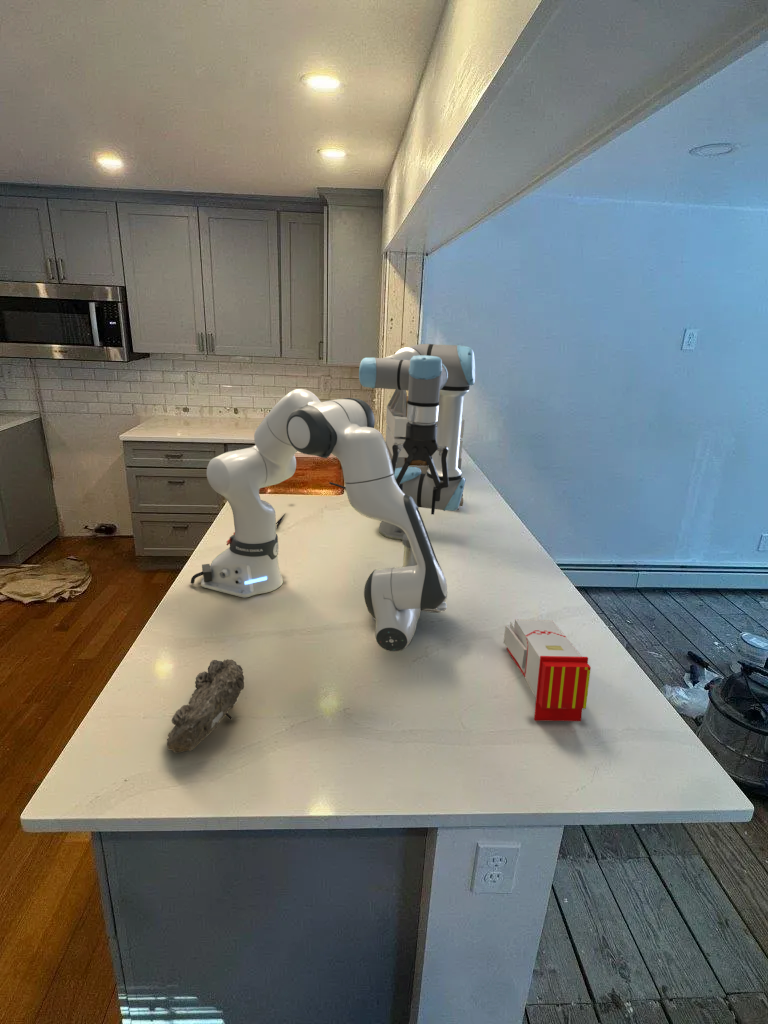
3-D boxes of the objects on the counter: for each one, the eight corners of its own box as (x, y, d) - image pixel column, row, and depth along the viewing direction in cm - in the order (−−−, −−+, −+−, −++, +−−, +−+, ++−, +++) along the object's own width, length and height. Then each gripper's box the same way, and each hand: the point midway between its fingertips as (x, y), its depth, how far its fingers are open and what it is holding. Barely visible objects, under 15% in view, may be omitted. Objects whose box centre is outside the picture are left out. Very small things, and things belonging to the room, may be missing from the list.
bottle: (398, 605, 152) (401, 539, 145) (404, 597, 156) (408, 533, 150) (415, 609, 150) (420, 543, 144) (421, 601, 154) (426, 536, 148)
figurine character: (463, 515, 225) (458, 499, 238) (465, 497, 221) (460, 482, 235) (446, 514, 224) (442, 498, 238) (448, 497, 221) (444, 482, 235)
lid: (399, 546, 146) (399, 538, 145) (406, 538, 151) (407, 530, 150) (421, 550, 144) (421, 542, 143) (428, 542, 149) (428, 534, 148)
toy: (549, 604, 136) (599, 663, 106) (544, 656, 138) (591, 727, 109) (499, 603, 135) (535, 662, 106) (495, 655, 138) (529, 726, 109)
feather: (292, 507, 224) (294, 503, 223) (275, 531, 197) (278, 527, 197) (288, 505, 224) (291, 501, 223) (271, 528, 197) (273, 524, 197)
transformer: (382, 463, 289) (386, 382, 275) (445, 464, 293) (451, 384, 279) (390, 482, 257) (394, 392, 243) (460, 483, 261) (468, 394, 247)
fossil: (192, 660, 117) (244, 628, 112) (224, 691, 120) (276, 661, 115) (142, 746, 98) (202, 712, 93) (182, 779, 101) (242, 748, 96)
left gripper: (446, 600, 136) (451, 575, 149) (363, 589, 140) (375, 566, 153) (444, 623, 138) (449, 597, 151) (362, 612, 142) (374, 587, 155)
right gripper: (465, 422, 139) (457, 509, 146) (381, 416, 141) (378, 503, 149) (465, 428, 132) (456, 519, 139) (377, 422, 134) (373, 512, 142)
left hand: (411, 581), depth 152 cm, fingers open, 6 cm apart
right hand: (416, 511), depth 144 cm, fingers open, 8 cm apart
